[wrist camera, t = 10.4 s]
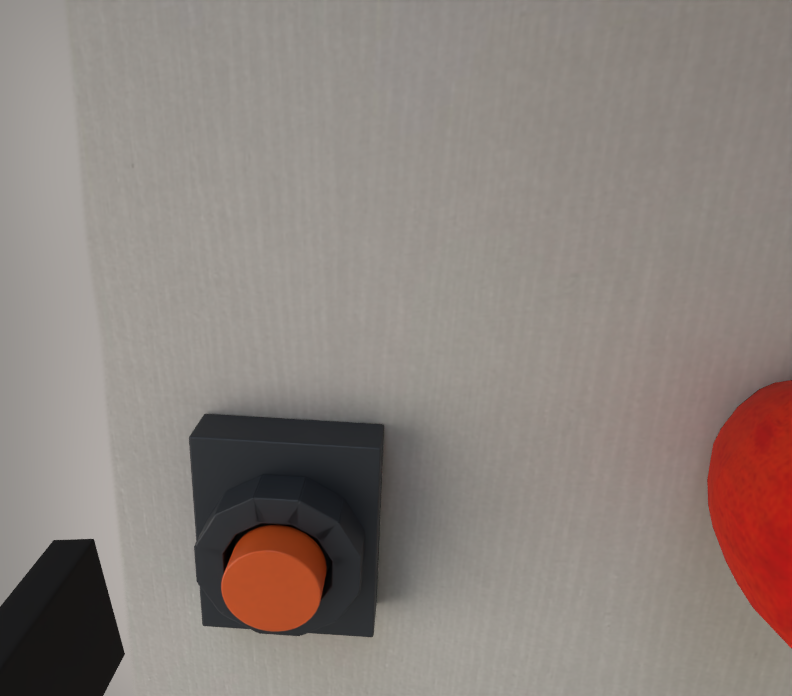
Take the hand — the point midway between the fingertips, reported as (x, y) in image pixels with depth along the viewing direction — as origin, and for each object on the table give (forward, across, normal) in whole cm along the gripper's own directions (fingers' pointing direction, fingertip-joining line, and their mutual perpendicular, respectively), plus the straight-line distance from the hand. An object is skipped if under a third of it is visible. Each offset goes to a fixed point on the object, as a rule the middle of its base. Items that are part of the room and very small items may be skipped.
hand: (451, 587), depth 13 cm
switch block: (+17, -7, -10) cm, 21 cm away
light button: (+13, -7, -10) cm, 18 cm away
